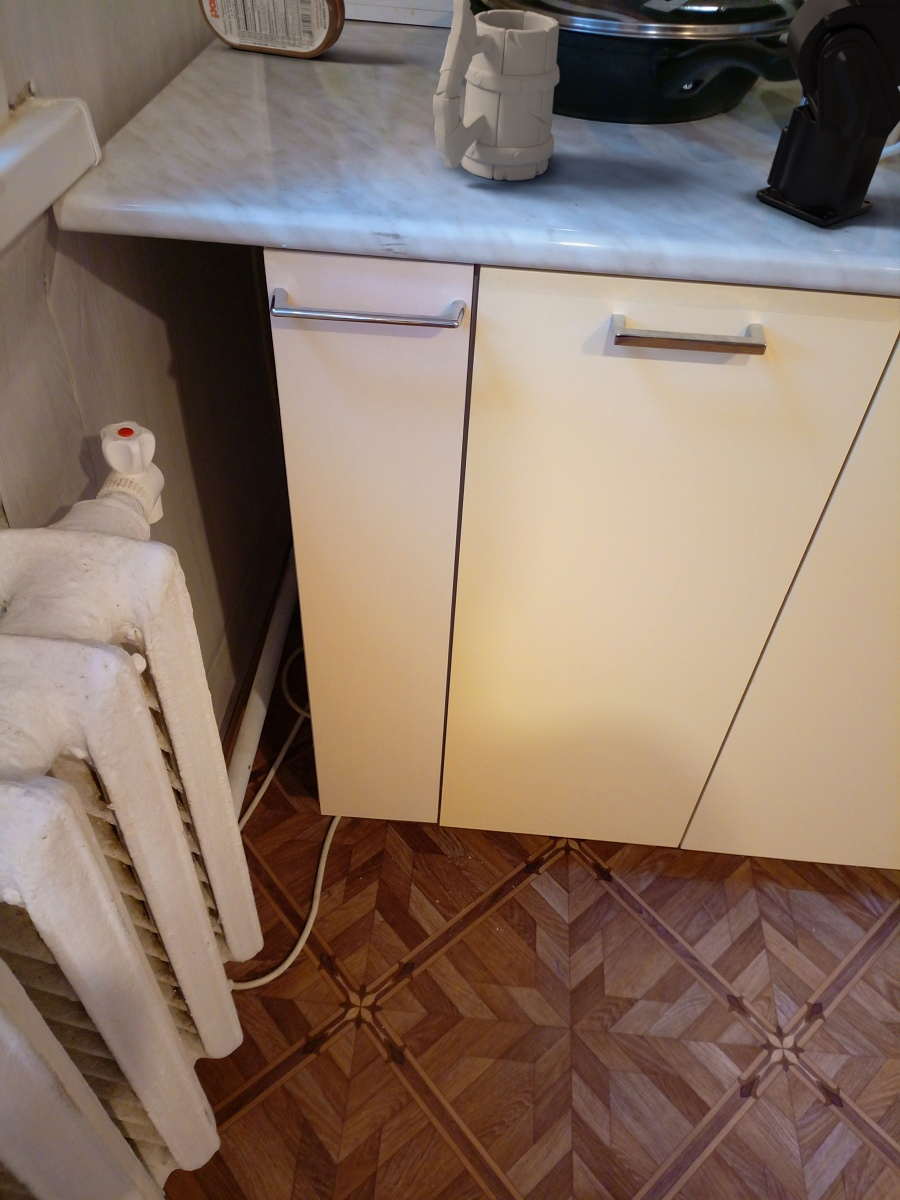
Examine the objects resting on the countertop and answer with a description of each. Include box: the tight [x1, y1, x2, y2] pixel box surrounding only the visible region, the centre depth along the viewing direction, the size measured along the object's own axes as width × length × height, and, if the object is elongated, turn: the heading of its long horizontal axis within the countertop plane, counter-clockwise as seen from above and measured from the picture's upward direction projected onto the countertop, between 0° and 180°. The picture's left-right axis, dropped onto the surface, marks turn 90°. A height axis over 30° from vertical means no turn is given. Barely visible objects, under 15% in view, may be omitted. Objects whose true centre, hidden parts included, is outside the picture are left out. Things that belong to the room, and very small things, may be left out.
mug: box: [432, 0, 560, 181], centre depth 64 cm, size 8×12×12 cm, turn 137°
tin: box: [197, 0, 346, 59], centre depth 85 cm, size 15×3×8 cm, turn 74°
